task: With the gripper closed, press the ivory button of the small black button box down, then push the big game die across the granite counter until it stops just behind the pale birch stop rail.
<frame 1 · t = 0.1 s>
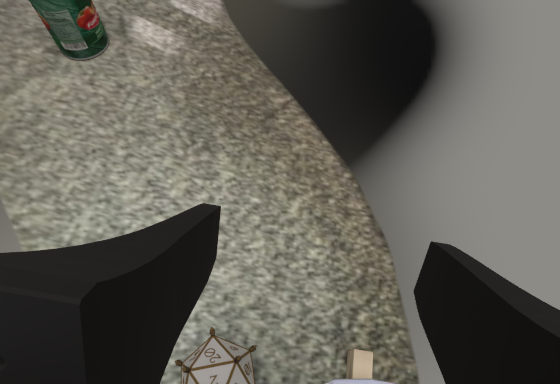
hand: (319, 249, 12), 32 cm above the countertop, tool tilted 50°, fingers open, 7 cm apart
game die: (221, 378, 38), on the countertop
canned tomato: (85, 44, 59), on the countertop
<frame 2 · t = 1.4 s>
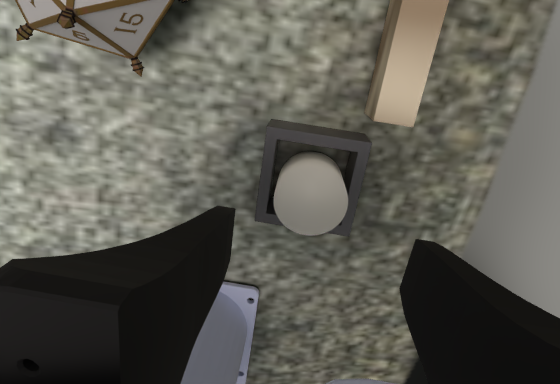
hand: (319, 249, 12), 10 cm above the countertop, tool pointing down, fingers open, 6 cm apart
button box: (309, 170, 22), on the countertop
button: (310, 191, 18), point 4 cm above the countertop, slide at 0.0 cm
stop rail: (404, 20, 19), on the countertop
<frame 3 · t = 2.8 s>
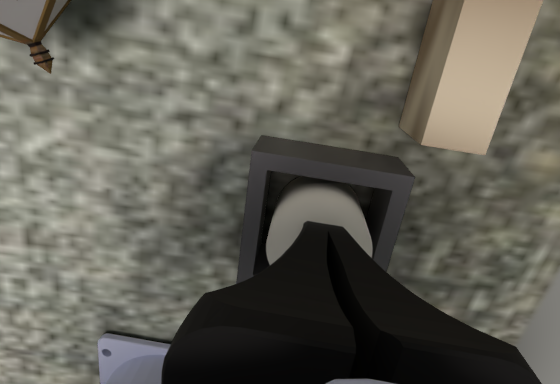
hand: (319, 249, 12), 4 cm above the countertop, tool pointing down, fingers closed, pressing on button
button box: (317, 208, 15), on the countertop
button: (317, 230, 13), point 2 cm above the countertop, slide at 1.6 cm, touching gripper
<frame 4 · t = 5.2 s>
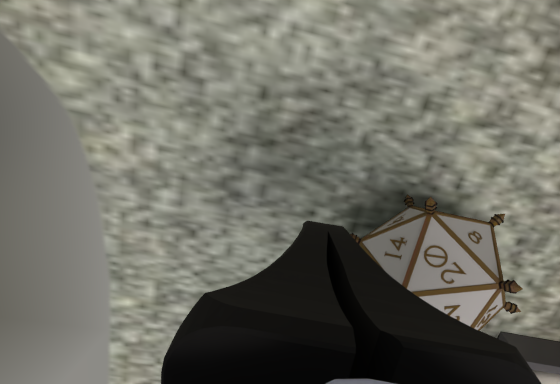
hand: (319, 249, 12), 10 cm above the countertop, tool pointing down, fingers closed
button box: (524, 367, 26), on the countertop
game die: (409, 235, 23), on the countertop
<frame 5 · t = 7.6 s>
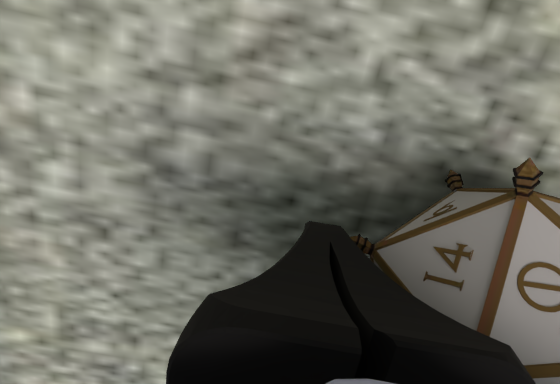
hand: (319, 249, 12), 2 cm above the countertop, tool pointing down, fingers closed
game die: (450, 238, 14), on the countertop, touching gripper
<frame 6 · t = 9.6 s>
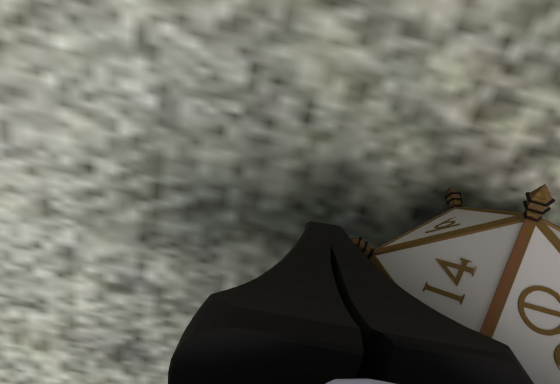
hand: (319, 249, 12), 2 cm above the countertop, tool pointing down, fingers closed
game die: (438, 254, 14), on the countertop, touching gripper
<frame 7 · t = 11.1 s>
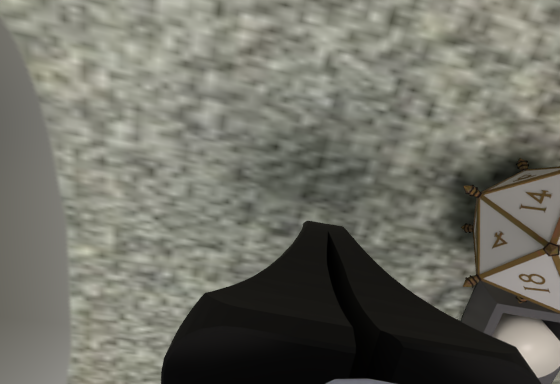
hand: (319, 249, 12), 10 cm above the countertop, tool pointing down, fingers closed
button box: (504, 318, 25), on the countertop
button: (519, 338, 23), point 2 cm above the countertop, slide at 1.8 cm
game die: (507, 204, 22), on the countertop
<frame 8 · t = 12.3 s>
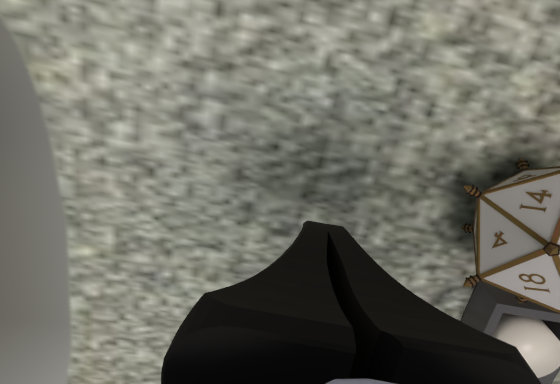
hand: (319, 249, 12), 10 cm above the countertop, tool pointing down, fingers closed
button box: (504, 318, 25), on the countertop
button: (519, 338, 23), point 2 cm above the countertop, slide at 1.8 cm
game die: (507, 204, 22), on the countertop
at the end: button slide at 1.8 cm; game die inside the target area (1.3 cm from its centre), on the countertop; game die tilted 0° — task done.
